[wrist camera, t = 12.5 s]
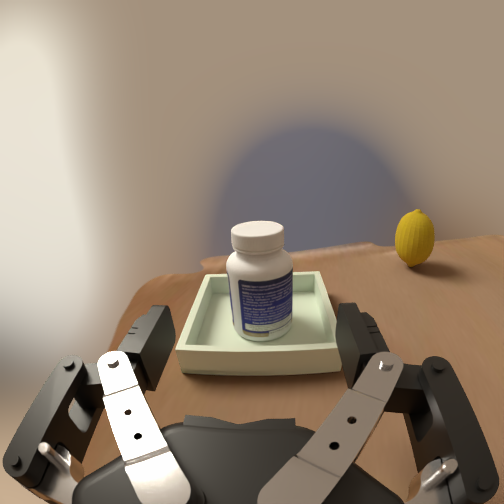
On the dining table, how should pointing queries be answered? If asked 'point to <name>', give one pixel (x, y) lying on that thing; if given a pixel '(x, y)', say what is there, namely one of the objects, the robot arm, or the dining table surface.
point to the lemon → (414, 238)
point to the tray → (260, 352)
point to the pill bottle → (260, 281)
